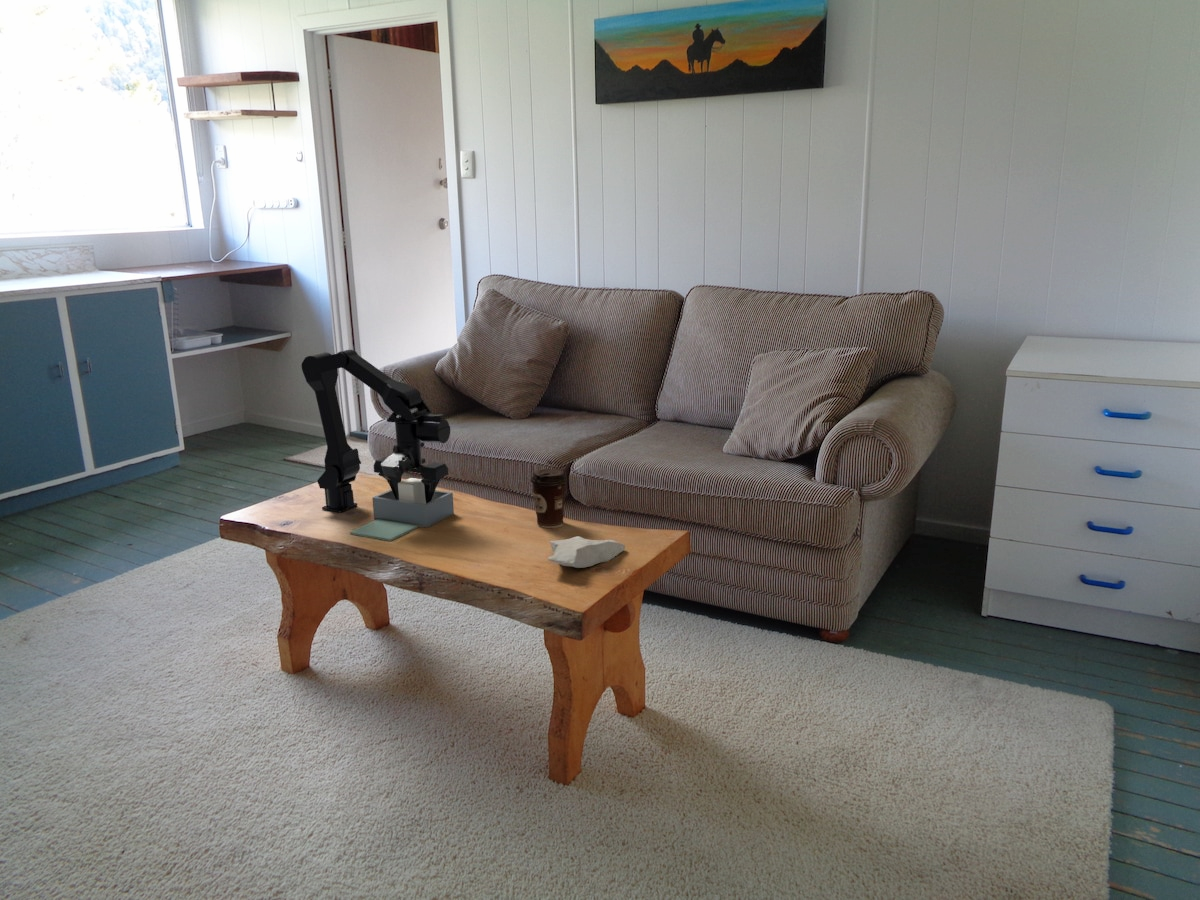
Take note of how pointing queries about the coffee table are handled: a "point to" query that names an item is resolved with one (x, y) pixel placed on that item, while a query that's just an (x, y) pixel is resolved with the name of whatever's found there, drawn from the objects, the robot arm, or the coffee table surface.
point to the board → (384, 530)
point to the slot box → (413, 509)
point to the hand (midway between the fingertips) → (413, 501)
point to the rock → (583, 551)
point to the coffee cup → (549, 497)
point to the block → (412, 491)
